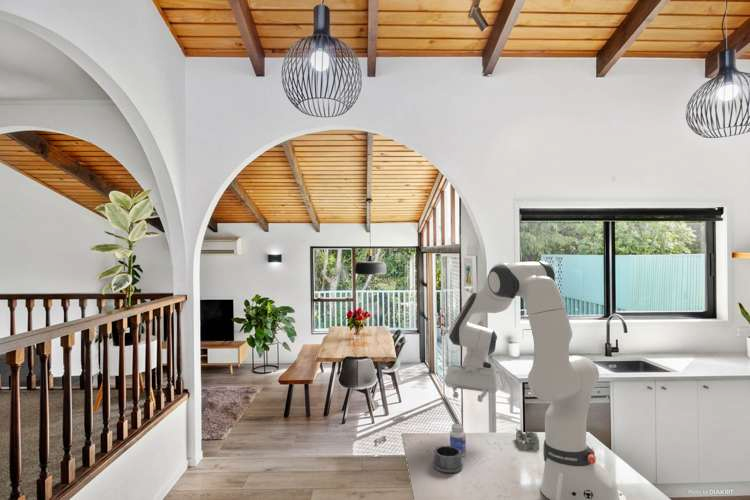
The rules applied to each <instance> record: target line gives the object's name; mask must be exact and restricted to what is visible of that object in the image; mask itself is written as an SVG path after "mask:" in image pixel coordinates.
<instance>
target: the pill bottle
mask: <svg viewBox="0 0 750 500" xmlns="http://www.w3.org/2000/svg"><path fill="white" fill-rule="evenodd" d="M466 437H467V436H466V432H465V430H464V425H463V424H461V423H453V424H451V431H450V432H449V444H450V445H449V446H452V447H456V448H458V449H460V451H461V457H464V456H465V455H466V454H467V452H466V451H467V446H466V445H467V444H466V443H467V442H466V439H467V438H466Z"/></svg>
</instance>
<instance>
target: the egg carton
mask: <svg viewBox="0 0 750 500" xmlns="http://www.w3.org/2000/svg"><path fill="white" fill-rule="evenodd" d="M515 431H516V432H515V433H516V434H515V440H516V441H517V444H518V445H519V446H518V447H519V448H520V449H522V450H525V449H526V450H528V449H531V450H533V451H537V450H538V449H539V450H540V438H539V436H538V433H537V432H536V431H527V430H526V431H525V432H522V431H523V430H521V429H518V428H517V427H516V428H515Z"/></svg>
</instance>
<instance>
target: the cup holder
mask: <svg viewBox="0 0 750 500" xmlns="http://www.w3.org/2000/svg"><path fill="white" fill-rule="evenodd" d="M433 457H434V458H433V459H434V460H433V461H432V467H433V469H434V470H435V471H436V472H439V473H441V474H447V475H454V474H458V473H460V472H462V471H463V469H464V467H463V462H462V456H461V451H460V449H458V448H456V447H452V446H450V445H441V446H438V447H436V448H435V449H434V450H433Z"/></svg>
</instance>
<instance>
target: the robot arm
mask: <svg viewBox="0 0 750 500" xmlns="http://www.w3.org/2000/svg"><path fill="white" fill-rule="evenodd" d="M555 281H556V274H555V271H554V269H553V266H552V265H551V264H549V263H548V262H546V261H542V260H533V261H516V262H510V263H509V262H502V261H501V262H498V263H496V264H494V265H493V267H491V269H490V270H489V272H488V275H487V276H486V279H485V281H484V283H483V286H482V288H481V289H480V290H479V291H477V292H473V293H471V294H470V296H469V297H468V299H467V300H466V302H465V303H464V305H463V306H462V308H461V311H460V312H459V313H458V315H457V317H456V318H455V319H454V322H453V323H452V324H451V325H450V327H449V331H448V339H449V341H451V343H452V344H453V345H455V346H459V347H465V348H466V349H465V350H466V352H465V356H464V359H463V363H462V365H456V364H452V365H450V366H448V367H447V370H446V373H445V378H444V384H445V386H446V387H447V388H451V389H452V392H453V394H452V397H453V399H459V393H458V391H457V390H458V389H459V390H460V389H461V390H467V391H474V392H475V391H476V392H482V393H480V394H479V395H477V401H478V402H479V403H482V402H483V399H484V398H485V397H486V396H487V394H488V393H491V394H495V393H497V391H498V389H499V388H498V387H499V386H498V376H497V375H498V372H497V369H496V366H495V365H494V363H493V364H492V363H491V362H488V361H487V357H488V356H490V355H491V354H493V353H494V352H495V350H496V345H497V339H498V336H497V333H496V332H495V331H494V329H492V328H490V327H486V326H482V325H479V324H474V323H472V322H469V320H471V318H472V316H473V315H475V314H480V313H482V314H483V313H485V314H487V313H492V314H496V313H501V312H504V311H506V310H507V309H508V308H509V307H510V305H511V304H512V302H513V300H514V299H515V297H520V298H522V300H523V301H524V304H525V309H526V313H527V316H528V322H529V325H530V331H531V334H532V340H533V361H532V367H531V369H530V371H529V372H528V375H527V376H528V377H527V384H528V388H529V390H530V392H531V393H532V394H533V395H534V396H535V398H537V399H538V400H541V401H543V402H550V405H549V406H548V408H547V410H546V411H545V414H544V436H545V437H544V438H545V439H544V440H543V445H542V446H543V447H542V448H543V460H544V468H543V476H542V479H541V484H540V487H539V488H540V489H539V490H540V492H541V493H542V494H543V495H544V497H546V498H547V499H549V500H627V497H626V495H625V494H624V493H623V492H622V491H621V490H619V489H618V486H617V482H616V480H615V478H614V476H613V475H612V473H610V471H609V470H606V469H605V468H604V467H603V466H602V465H601V464H599V463H598V462H597V457H596V455H595V451H594V447H593V446H591V447H590V446H589V445H587V419H588V411H589V408H590V403H591V400H592V395H593V391H594V390H595V386H596V385H597V383H598V382H599V379H600V372H599V369H598V368H599V367H598V366H597V365H596V363H595V362H594V361H593V360H592V359H590V358H589V357H587V356H582V355H570V351H569V350H570V342H571V340H572V338H573V329H572V326H571V323H570V320H569V316H568V312H567V309H566V305H565V301H564V300H563V297H562V294H561V292H560V290H559V288H558V286H557V285H558V284H557V283H556V282H555Z"/></svg>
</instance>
